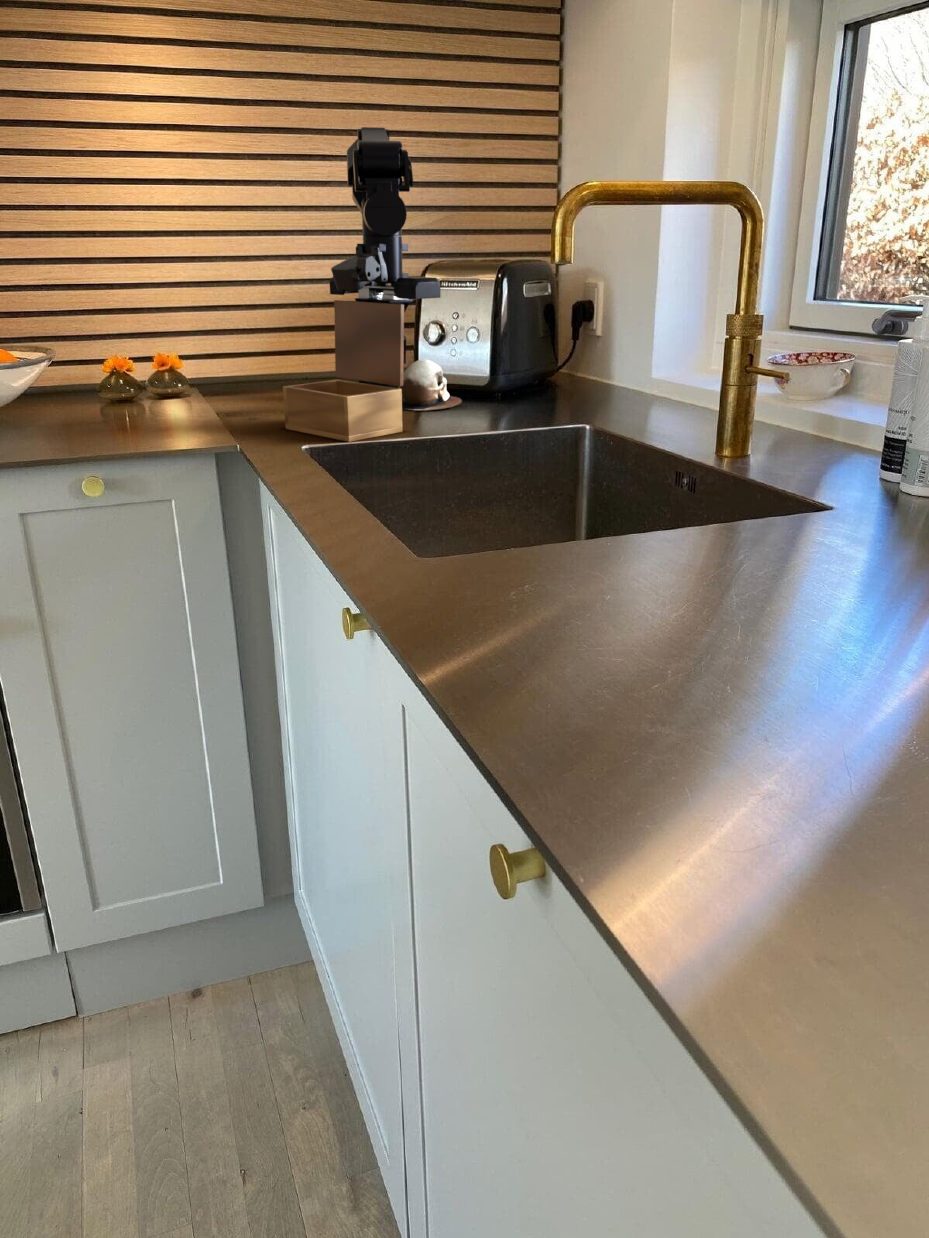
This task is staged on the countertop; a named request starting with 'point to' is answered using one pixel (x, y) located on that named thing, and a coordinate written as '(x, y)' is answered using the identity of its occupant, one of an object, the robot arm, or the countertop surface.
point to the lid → (369, 341)
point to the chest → (343, 409)
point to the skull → (425, 387)
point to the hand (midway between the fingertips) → (385, 346)
